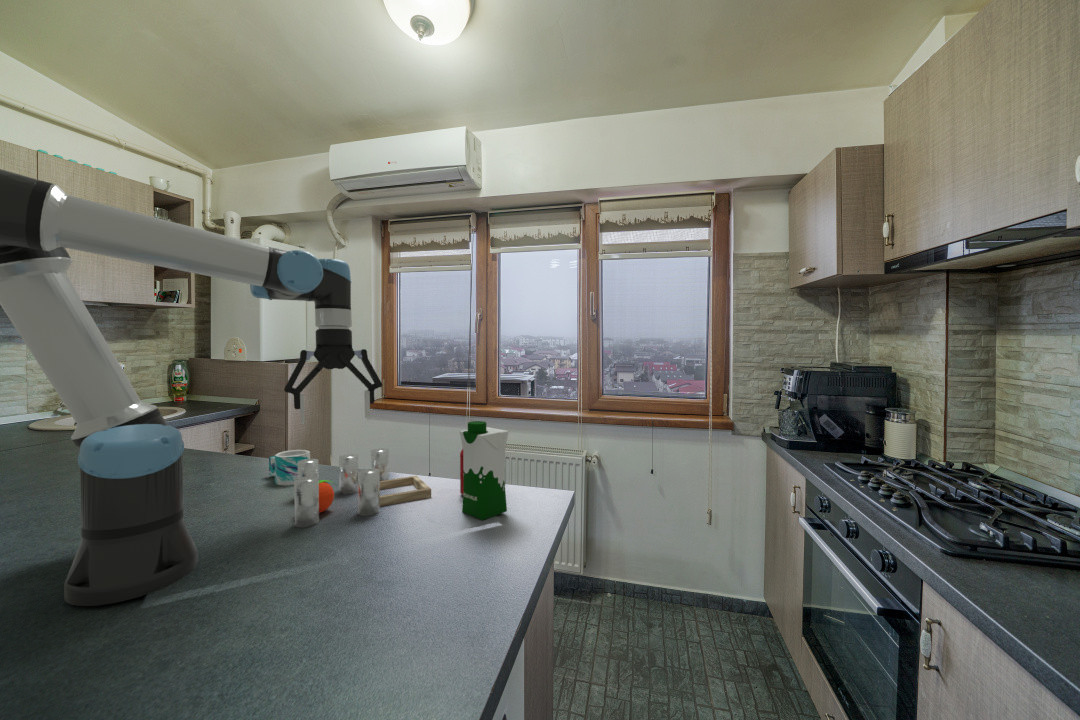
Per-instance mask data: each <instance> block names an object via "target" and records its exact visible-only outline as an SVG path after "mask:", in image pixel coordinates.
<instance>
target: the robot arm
mask: <svg viewBox="0 0 1080 720" xmlns="http://www.w3.org/2000/svg"><path fill="white" fill-rule="evenodd" d="M67 249H70V250H74V251H80V252H85V253H90V254H95V255H100V256H106V257H110V258H116V259H121V260H125V261H130V262H136V263H140V264H147V265H150V266H156V267H162V268H165V269H172V270H175V271H182V272H187V273H192V274H197V275H202V276H207V277H211V278H217V279H221V280H226V281H231V282H235V283H236V282H237V283H241V284H247V285H249V288H250V293H251V295H252V297H255V298H257V299H264V300H269V301H272V300H280V301H299V302H301V301H302V302H314V316H315V317H314V320H315V321H314V322H315V323H314V325H315V327H317V328H318V329H316V330H315V349H314V351H311V350H306V349H302V350H300V353H299V360H298V362H297V364H296V366H295V367H294V369H293V371H292V373H291V375H290V377H289V379H288V381H287V383H286V384H285V386H284V389H283V390H284V392H285V393H288V394H292V395H293V407H294V410H299V412H300V413H299V416H300V418H299V420H300V425H305V424H306V423H305V422H306V421H305V420H306V417H305V394H304V393H302V392H303V390H304V389H306V388H307V386H308V385H309V384H310V383H311V382H312V380H314V378H315V377H317V375H318V374H319V373H320V372H321V371H322V370H323V369H325V370H334V369H336V370H337V369H338V370H343V369H345V368H347V369H348V370H349V372H351V373H352V374H353V375H354V376H355V378H357V380H359V381H360V383H361V384H363V385H364V386H365V388H366V389H365V390H364V394H363V395H364V418H365V419H367V420H368V419H369V420H370V419H371V404H375V391H376V389H379V388H381V387H383V383H382V381H381V380H380V378H379V375H378V374H377V372H376V370H375V369H374V367H373V364H372V363H371V361H370V360H369V356H368V351H367V349H365V348H363V349H359V350H358V349H357V350H354V349H353V331H352V330H351V329H350V328H351V327H352V326H353V325H352V324H353V323H352V289H351V288H352V287H351V286H352V285H351V284H352V279H351V270H350V265H349V264H348V263H347V262H346V261H344V260H342V259H336V258H335V259H334V258H318V257H316V256H315V255H314V254H313V253H311V252H308V251H306V250H301V249H295V250H294V249H293V250H288V251H287V250H285V249H280V248H276V247H275V248H274V247H270V246H266V245H262V244H261V243H260V244H259V243H255V242H251V241H248V240H243V239H240V238H236V237H232V236H228V235H224V234H220V233H217V232H213V231H210V230H205V229H201V228H198V227H195V226H189V225H185V224H182V223H177V222H174V221H170V220H166V219H163V218H158V217H155V216H151V215H147V214H143V213H139V212H135V211H131V210H127V209H123V208H120V207H115V206H112V205H108V204H104V203H101V202H96V201H93V200H90V199H84V198H81V197H78V196H74V195H71V194H68V193H66V192H65V191H64V190H63V189H62V188H61V186H59V185H58V184H55V183H52V182H47V181H44V180H40V179H37V178H33V177H29V176H26V175H22V174H20V173H16V172H12V171H8V170H5V169H1V168H0V306H1V308H2V309H3V311H4V312H5V315H7V317H8V319H9V320H10V322H11V324H12V326H13V327H14V329H15V330H16V331H17V333H18V335H19V336H20V338H21V339H22V341H23V343H24V344H25V346H27V348H28V350H29V351H30V353H31V355H32V356H33V358H34V359H35V361H36V362H37V364H38V365H39V367H40V369H41V370H42V372H43V373H44V375H45V376H46V378H47V380H48V381H49V383H50V384H51V386H52V387H53V389H54V391H56V394H57V395H58V397H59V398H60V400H61V402H62V403H63V404H64V406H65V407H66V409H67V410H68V411H67V412H69V413H70V415H71V417H72V418H73V420H74V421H75V423H76V428H75V429H74V432H73V433H72V434H71V436H70V439H71V440H72V442H73V444H74V445H75V447H76V449H78V452H79V453H78V456H77V464H78V466H79V473H80V475H79V476H80V477H79V479H80V483H79V484H80V487H79V488H80V489H79V490H80V543H79V546H78V548H77V551H76V553H75V555H74V558H73V561H72V563H71V565H70V569H69V570H68V573H67V576H66V578H65V581H64V587H63V590H64V591H63V597H64V601H65V602H66V603H67V604H69V605H72V606H77V607H78V606H79V607H94V606H95V607H96V606H104V605H105V606H106V605H111V604H117V603H120V602H121V603H122V602H124V601H129V600H132V599H136V598H140V597H143V596H145V595H148V594H150V593H152V592H155V591H157V590H159V589H163V588H164V587H167V586H169V585H172V584H174V583H175V582H178V581H179V580H181V579H183V578H184V577H186V576H187V575H189V574H190V573H192V572H193V571H194V570H195V569H196V567H197V566H198V563H199V557H198V556H199V554H198V553H199V552H198V548H197V545H196V544H195V542H194V540H193V537H192V535H191V532H190V531H189V529H188V526H187V524H186V522H185V519H184V518H185V517H184V463H183V462H184V450H185V443H184V441H183V435H182V432H181V431H180V429H178V428H177V427H175V426H172V425H168V424H167V421H166V420H165V418H164V417H163V414H162V413H161V411H160V409H159V408H158V406H157V405H155V404H150V403H146V402H144V401H142V400H141V398H140V397H139V395H138V393H137V392H136V390H135V389H134V387H133V385H132V383H131V381H130V380H129V378H128V376H127V375H126V373H125V371H124V370H123V368H122V366H121V364H120V362H119V361H118V359H117V357H116V356H115V354H114V353H113V351H112V349H111V348H110V346H109V344H108V342H107V340H106V339H105V337H104V335H103V334H102V332H101V330H100V329H99V327H98V325H97V324H96V322H95V321H94V318H93V317H92V314H91V313H90V312H89V310H88V309H87V307H86V305H85V303H84V301H83V300H82V299H81V298H82V297H80V295H79V293H78V291H77V289H76V288H75V286H74V285H73V283H72V282H71V280H70V278H69V276H68V274H67V271H68V269H69V268H70V266H71V265H72V263H73V260H72V258H71V256H70V255H69V253H68V251H67ZM355 356H357V358H358V359H359V360H361V363H362V364H363V366H364V368H365V370H366V371H367V373H368V374H369V376H370V378H371V380H372V381H373V383H372V382H370V381H369V380H368V379H367V377H366V376H365V375H364V374H363V373H362V372H361V371H360V370H359V369H358V368H357V367H356V366H355V364H353V363H352V362H351V361H352V360H353V358H354V357H355ZM312 357H314V358H315V359H316V360H317V361H318V362H317V364H316V365H315V366H314V368H313V369H312V370H311V371H309V373H308V374H307V375H306V376H305V377H304V378H303V379H302V381H300V383H299V384H298V385H297V386H296V387H294V385H295V383H296V381H297V379H298V377H299V376H300V374H301V372H302V370H303V368H304V366H305V365H306V361H309V360H310V359H311V358H312Z"/></svg>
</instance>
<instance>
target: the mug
mask: <svg viewBox="0 0 1080 720" xmlns="http://www.w3.org/2000/svg"><path fill="white" fill-rule="evenodd" d="M305 459H311V451H310V450H306V449H291V450H284V451H281V452H278V453H276V454H274V455H273V456H270V457H268V476H271V477H274V483H275V484H276V485H278V486H294V481H295V480H296V479H298V461H300V460H305Z"/></svg>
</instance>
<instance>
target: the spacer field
mask: <svg viewBox="0 0 1080 720" xmlns="http://www.w3.org/2000/svg"><path fill="white" fill-rule="evenodd" d="M389 452H390V451H389V448H385V447H384V448H381V447H380V448H374V449H371V450H370V468H365V469H361V470H359V455H358V454H356V453H355V454H354V453H351V454H350V453H349V454H343V455H339V457H338V463H339V464H338V466H339V467H338V471H339V472H338V477H339V478H338V479H339V483H338V484H339V487H338V490H339V493H340V494H341V495H351V494H355V493H357V500H358V501H357V514H358V515H359V516H362V517H363V516H364V517H366V516H373V515H376V514H379V513H380V512H381V511H380V510H381V508H380V507H381V506H380V496H381V495H380V481H384V480H390V477H389V476H390V475H389V474H390V472H389V471H390V470H389V469H390V468H389V463H390V462H389V458H390V457H389ZM319 472H320V471H319V459H318V458H310V459H305V460H300V461H298V479H296V480H295V481H294V485H293V486H294V527H296V528H300V529H301V528H309V527H312V526H315V525H317V524H319V523H320V513H319V481H320V480H319V479H320V478H319Z"/></svg>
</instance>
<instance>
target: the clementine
mask: <svg viewBox="0 0 1080 720" xmlns="http://www.w3.org/2000/svg"><path fill="white" fill-rule="evenodd" d="M328 482H329V483H333V484H335V482H334V481H331V480H326V479H323V480H322V479H321V480H319V514H320V513H323V512H326V510H328V509H329V507H330V506H331V505H332V504H333V501H334V498H335V491H334V489H333V487H332V486H331V484H329V483H328ZM335 485H336V487H338V485H337V484H335Z"/></svg>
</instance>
